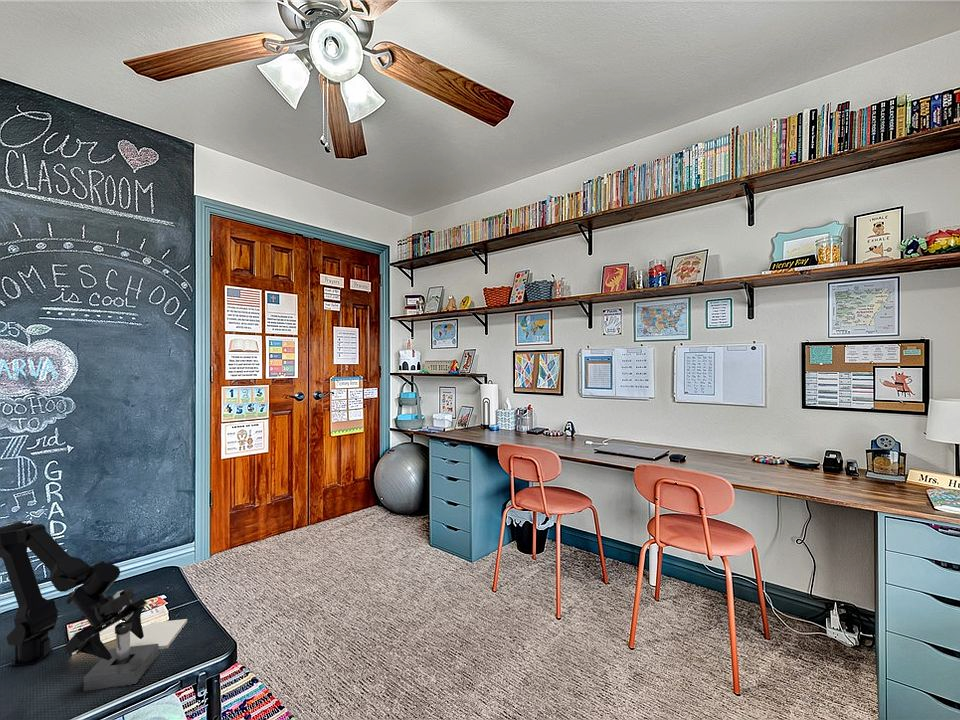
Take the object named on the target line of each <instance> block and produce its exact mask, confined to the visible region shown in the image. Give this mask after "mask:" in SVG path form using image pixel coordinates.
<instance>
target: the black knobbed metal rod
mask: <svg viewBox="0 0 960 720" xmlns="http://www.w3.org/2000/svg"><path fill="white" fill-rule="evenodd" d="M131 628H132V622H131V621H125V622H121V623H119V622H118V623H117V624H116V625H115V626H114V634H115V636H116V637H115V645H116V646H115V647H116V665H120V664H128V662H129V661H130V633H131V631H130V630H131Z"/></svg>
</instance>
